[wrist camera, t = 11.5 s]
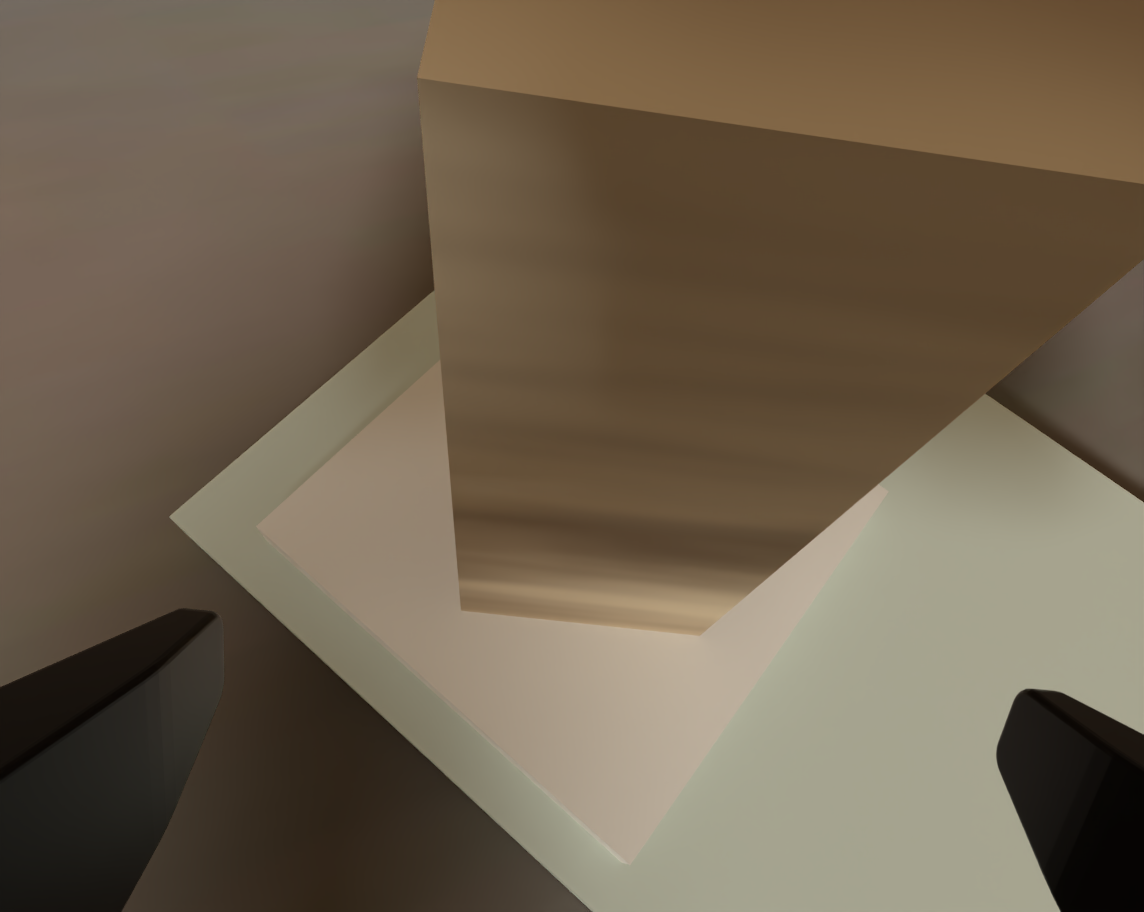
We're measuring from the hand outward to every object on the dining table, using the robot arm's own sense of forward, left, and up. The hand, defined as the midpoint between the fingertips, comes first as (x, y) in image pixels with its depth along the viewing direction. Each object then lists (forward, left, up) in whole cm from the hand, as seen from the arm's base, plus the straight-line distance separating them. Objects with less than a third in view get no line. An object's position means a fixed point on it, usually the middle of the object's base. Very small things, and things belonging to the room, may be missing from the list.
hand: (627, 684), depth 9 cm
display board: (0, -6, -10) cm, 12 cm away
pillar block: (+3, -4, -7) cm, 9 cm away
